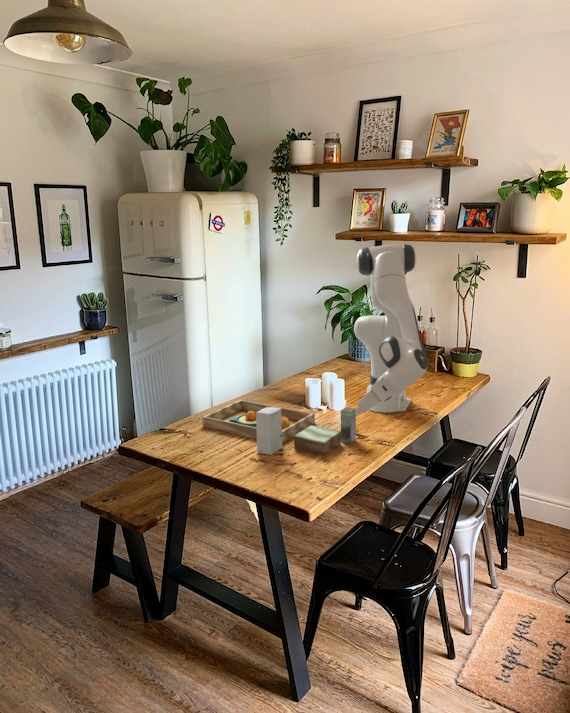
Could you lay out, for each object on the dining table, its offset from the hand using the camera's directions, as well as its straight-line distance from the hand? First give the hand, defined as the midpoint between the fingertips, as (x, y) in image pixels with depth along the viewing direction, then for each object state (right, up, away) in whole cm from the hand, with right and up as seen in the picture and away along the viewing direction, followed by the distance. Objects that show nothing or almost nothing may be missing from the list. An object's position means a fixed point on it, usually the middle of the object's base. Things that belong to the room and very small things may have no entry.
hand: (362, 408), depth 215 cm
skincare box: (-33, -15, 0) cm, 36 cm away
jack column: (-4, -12, +6) cm, 14 cm away
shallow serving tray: (-38, -8, +25) cm, 46 cm away
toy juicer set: (-39, -9, +23) cm, 46 cm away
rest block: (-16, -13, +2) cm, 21 cm away
